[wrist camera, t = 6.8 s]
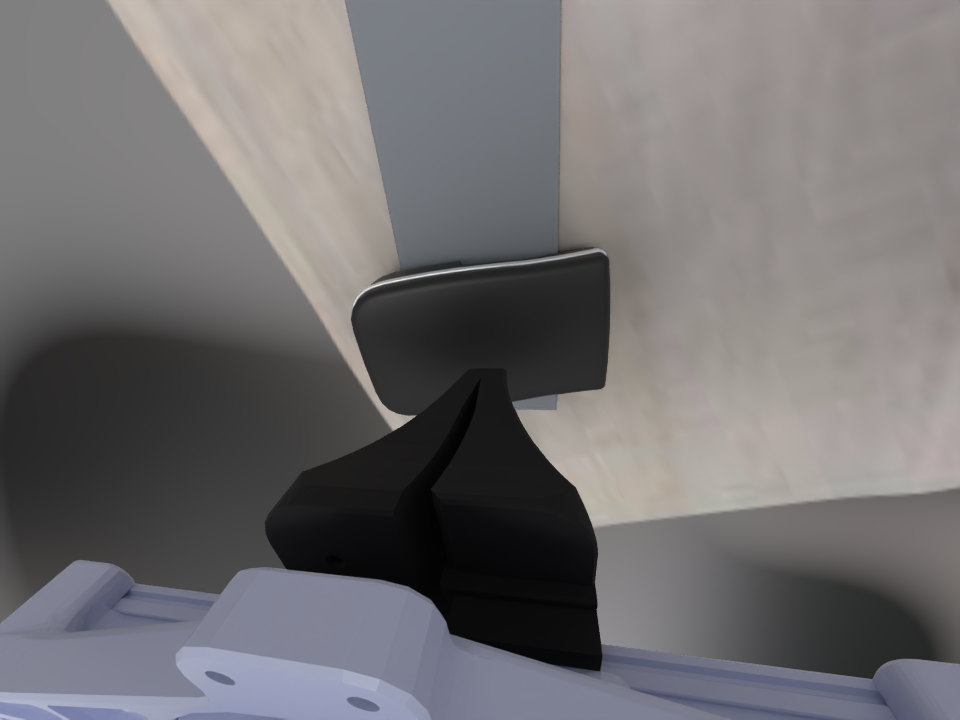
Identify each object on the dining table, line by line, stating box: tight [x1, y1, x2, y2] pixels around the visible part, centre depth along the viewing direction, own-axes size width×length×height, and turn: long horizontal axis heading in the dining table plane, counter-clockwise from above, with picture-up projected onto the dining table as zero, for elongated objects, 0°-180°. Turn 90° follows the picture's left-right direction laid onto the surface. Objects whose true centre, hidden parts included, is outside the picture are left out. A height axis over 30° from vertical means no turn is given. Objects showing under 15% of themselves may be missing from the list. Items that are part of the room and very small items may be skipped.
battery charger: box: [351, 247, 610, 415], centre depth 17 cm, size 7×4×11 cm
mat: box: [345, 0, 561, 410], centre depth 17 cm, size 8×20×1 cm, turn 6°
